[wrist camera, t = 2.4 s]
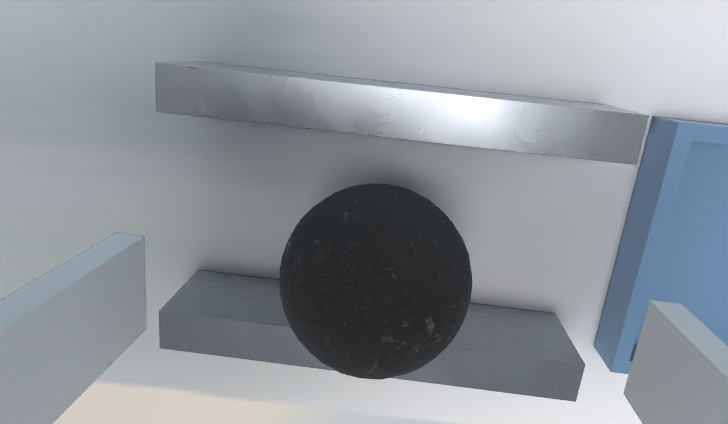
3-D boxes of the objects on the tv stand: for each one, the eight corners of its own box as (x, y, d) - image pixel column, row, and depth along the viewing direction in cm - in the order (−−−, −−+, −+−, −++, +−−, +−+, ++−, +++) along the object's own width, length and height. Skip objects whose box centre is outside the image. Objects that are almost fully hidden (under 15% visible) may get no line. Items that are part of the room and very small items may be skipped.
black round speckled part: (450, 143, 21) (489, 214, 12) (449, 271, 23) (484, 426, 13) (314, 147, 22) (243, 219, 12) (322, 273, 23) (266, 423, 14)
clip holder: (198, 302, 24) (159, 348, 20) (200, 61, 21) (155, 62, 17) (547, 345, 24) (575, 401, 20) (602, 104, 20) (648, 115, 17)
